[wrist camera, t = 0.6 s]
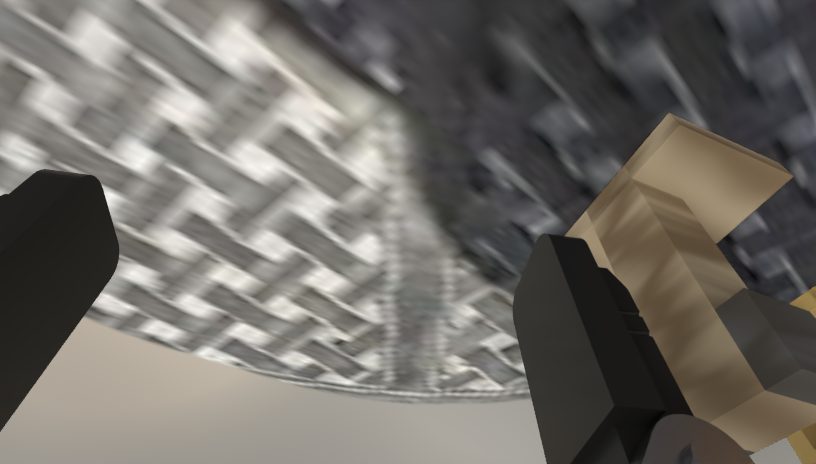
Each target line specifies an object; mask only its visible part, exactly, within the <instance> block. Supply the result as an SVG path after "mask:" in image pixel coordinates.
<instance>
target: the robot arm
mask: <svg viewBox="0 0 816 464" xmlns="http://www.w3.org/2000/svg"><path fill="white" fill-rule="evenodd" d="M118 259H119V244H118V240H117V236H116V233H115V229H114V226H113V222H112V219H111V215H110V212H109V209H108V205H107V202H106V198H105V195H104V191H103V188H102V185H101V183H100V181H99V180H98V179H97V178H96V177H95V176H92V175H86V174H78V173H70V172H63V171H55V170H47V169H43V170H39V171H37V172H36V173H34V174H33V175H32V176H30V177H29V178H28V179H27V180H25V181H24V182H23V183H22V184H21V185H19V186H18V187H17V188H16V189H14V190H13V191H12V192H11V193H10V194H4V195H2V196H0V431H1V430H2V429H3V427H4V426H5V424H6V423H7V421H8V420H9V419H10V417H11V416H12V415H13V413H14V412H15V410H16V409H17V408H18V406H19V405H20V404H21V402H22V401H23V399H24V398H25V397H26V395H27V394H28V393H29V391H30V390H31V388H32V387H33V386H34V384H35V383H36V381H37V380H38V378H39V377H40V376H41V375H42V373H43V372H44V370H45V369H46V367H47V366H48V365H49V363H50V362H51V361H52V359H53V358H54V357H55V355H56V354H57V352H58V351H59V349H60V348H61V347H62V345H63V344H64V343H65V341H66V340H67V339H68V337H69V336H70V334H71V333H72V332H73V330H74V329H75V327H76V326H77V324H78V323H79V322H80V320H81V319H82V318H83V316H84V315H85V314H86V312H87V311H88V309H89V308H90V307H91V305H92V304H93V302H94V301H95V300H96V298H97V297H98V296H99V294H100V293H101V291H102V290H103V289H104V287H105V286H106V284H107V283H108V282H109V280H110V279H111V277H112V276H113V274H114V272H115V270H116V267H117V264H118ZM639 313H640V311H639V309H638V308H637V306H636V304H635V302H634V300H633V298H632V296H631V294H630V292H629V290H628V289H627V288H626V287H625V286H624V285H623V284H622V283H621V282H620V281H619V280H618V279H617V278H616V277H615V276H614V275H613V274H612V273H611V272H610V270H609V269H608V268H602V267H598V265H597V263H596V261H595V259H594V257H593V254H592V252H591V250H590V248H589V246H588V244H587V242H586V241H585V240H584V239H582V238H575V237H567V236H559V235H551V234H542V235H541V236H540V237H539V238H538V240H537V241H536V244H535V246H534V248H533V251H532V253H531V255H530V258H529V260H528V263H527V265H526V267H525V270H524V272H523V275H522V277H521V279H520V282H519V284H518V287H517V289H516V292H515V296H514V302H513V320H514V325H515V329H516V333H517V338H518V342H519V346H520V350H521V355H522V359H523V363H524V368H525V372H526V376H527V380H528V385H529V389H530V393H531V398H532V402H533V406H534V410H535V415H536V419H537V423H538V428H539V432H540V436H541V440H542V445H543V449H544V453H545V457H546V462H547V464H755V463H754V462H753V461H752V459H751V458H750V457H749V455H748V454H747V453H746V452H745V451H744V449H743V448H742V447H741V446H740V445H739V444H738V443H737V442H736V441H735V440H734V439H732V438H731V437H730V436H729V435H727V434H726V433H725V432H724V431H722V430H721V429H719V428H718V427H716V426H714V425H712V424H711V423H709V422H707V421H705V420H702V419H700V418H697V417H695V416H694V415H693V413H692V411H691V409H690V407H689V405H688V403H687V402H686V400H685V398H684V396H683V394H682V392H681V390H680V388H679V386H678V384H677V382H676V380H675V379H674V377H673V375H672V373H671V371H670V369H669V367H668V365H667V363H666V361H665V359H664V357H663V356H662V354H661V352H660V350H659V348H658V346H657V344H656V342H655V340H654V338H653V336H650V335H649V332H650V331H649V329H648V327H647V325H646V323H645V321H644V319H643V317H641V316H639Z"/></svg>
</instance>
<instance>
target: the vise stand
mask: <svg viewBox="0 0 816 464" xmlns="http://www.w3.org/2000/svg"><path fill="white" fill-rule="evenodd" d="M792 177H794V176H793V175H792V174H791V173H790V172H788V171H787V170H786V169H785V168H784V167H783V166H782V165H781V164H780V163H778V162H776V161H773V160H771V159H769V158H767V157H765V156H763V155H760V154H758V153H756V152H754V151H752V150H749V149H747V148H745V147H743V146H741V145H738V144H736V143H734V142H732V141H730V140H728V139H725V138H723V137H721V136H719V135H717V134H714V133H712V132H710V131H708V130H706V129H704V128H701V127H699V126H697V125H695V124H693V123H690V122H688V121H686V120H684V119H682V118H680V117H677V116H675V115H673V114H671V113H668V114H667V115H666V117H665V118H664V119H663V120H662V121H661V122H660V124H659V125H658V126H657V127H656V128H655V130H654V131H653V132H652V133H651V134H650V135H649V137H648V138H647V139H646V140H645V141H644V142H643V144H642V145H641V146H640V147H639V148H638V150H637V151H636V152H635V153H634V154H633V155H632V157H631V158H630V159H629V160H628V161H627V163H626V164H625V165H624V166H623V167H622V168H621V170H620V171H619V172H618V173H617V174H616V176H615V177H614V178H613V179H612V180H611V181H610V183H609V184H608V185H607V186H606V187H605V189H604V190H603V191H602V192H601V193H600V194H599V196H598V197H597V198H596V199H595V200H594V202H593V203H592V204H591V205H590V206H589V207H588V209H587V210H586V211H585V212H584V213H583V215H582V216H581V217H580V218H579V219H578V220H577V222H576V223H575V224H574V225H573V226H572V228H571V229H570V230H569V231H568V232H567V233H566V235H565V236H567V237H575V238H582V239H584V240H585V241H586V242H587V244H588V246H589V248H590V250H591V252H592V254H593V257H594V259H595V261H596V263H597V265H598V267H602V268H608V269H609V270H610V272H611V273H612V274H613V275H614V276H615V277H616V278H617V279H618V280H619V281H620V282H621V283H622V284H623V285H624V286H625V287H626V288H627V289H628V290H629V292H630V294H631V296H632V298H633V300H634V302H635V304H636V306H637V308H638V309H639V311H640V313H639V316H641V317H643V319H644V321H645V323H646V325H647V327H648V329H649V331H650V332H649V335H650V336H653V338H654V340H655V342H656V344H657V346H658V348H659V350H660V352H661V354H662V356H663V357H664V359H665V361H666V363H667V365H668V367H669V369H670V371H671V373H672V375H673V377H674V379H675V380H676V382H677V384H678V386H679V388H680V390H681V392H682V394H683V396H684V398H685V400H686V402H687V403H688V405H689V407H690V409H691V411H692V413H693V415H694V416H695V417H697V418H700V419H702V420H705V421H707V422H709V423H711V424H712V425H714V426H716V427H718V428H719V429H721V430H722V431H724V432H725V433H726V434H727V435H729V436H730V437H731V438H732V439H734V440H735V441H736V442H737V443H738V444H739V445H740V446H741V447H742V448H743V449H744V451H745V452H746V453H747V454H748V455H751V454H753V453H755V452H757V451H759V450H761V449H763V448H765V447H767V446H769V445H771V444H773V443H775V442H777V441H779V440H781V439H783V438H785V437H787V436H789V435H791V434H793V433H795V432H797V431H799V430H801V429H803V428H805V427H808V426H810V425H812V424H814V423H816V318H815V317H814V316H813V315H812V313H811V312H810V311H807V310H804V309H801V308H799V307H796V306H793V305H790V304H788V303H785V302H782V301H779V300H776V299H774V298H771V297H768V296H765V295H763V294H760V293H757V292H754V291H751V290H749V289H748V288H747V287H746V285H745V284H744V283H743V281H742V280H741V278H740V277H739V276H738V274H737V273H736V272H735V270H734V269H733V267H732V266H731V265H730V263H729V262H728V261H727V259H726V258H725V256H724V255H723V254H722V252H721V251H720V250H719V248H718V247H717V245H716V244H717V243H718V242H719V241H720V240H721V239H723V238H724V237H725V236H726V235H727V234H728V233H729V232H731V231H732V230H733V229H734V228H735V227H736V226H737V225H739V224H740V223H741V222H742V221H743V220H744V219H745V218H747V217H748V216H749V215H750V214H751V213H752V212H753V211H755V210H756V209H757V208H758V207H759V206H760V205H761V204H763V203H764V202H765V201H766V200H767V199H768V198H770V197H771V196H772V195H773V194H774V193H775V192H776V191H778V190H779V189H780V188H781V187H782V186H783V185H784V184H786V183H787V182H788V181H789V180H790V179H791V178H792Z"/></svg>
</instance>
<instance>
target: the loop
mask: <svg viewBox="0 0 816 464" xmlns="http://www.w3.org/2000/svg"><path fill="white" fill-rule="evenodd" d="M790 305H793V306H796V307H799V308H801V309H804V310H807V311H810V312H811V313H812V315H813V316H814V317H815V318H816V286H814V287H813V288H811V289H810V290H809V291H807V292H806V293H804V294H803V295H801V296H800V297H798V298H797V299H796V300H794V301H793V302H791V303H790ZM786 438H787V439H788V441H789V443H790V444H791V446H792V447H793V449H794V451H795V452H796V454H797V456H798V457H799V459H800V460H801V462H802V464H816V423H814V424H812V425H810V426H808V427H805V428H803V429H801V430H799V431H797V432H795V433H793V434H791V435H789V436H787V437H786Z"/></svg>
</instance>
